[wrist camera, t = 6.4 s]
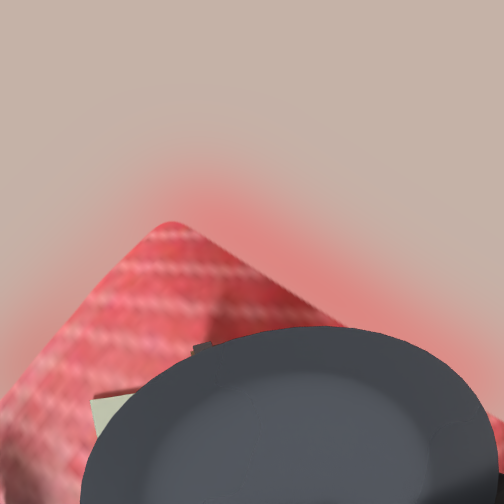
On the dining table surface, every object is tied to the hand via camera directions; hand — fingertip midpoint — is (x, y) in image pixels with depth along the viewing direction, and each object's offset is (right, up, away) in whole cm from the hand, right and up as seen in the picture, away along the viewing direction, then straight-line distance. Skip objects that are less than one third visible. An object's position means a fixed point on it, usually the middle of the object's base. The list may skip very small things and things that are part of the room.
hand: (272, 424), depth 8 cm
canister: (0, -5, +5) cm, 7 cm away
